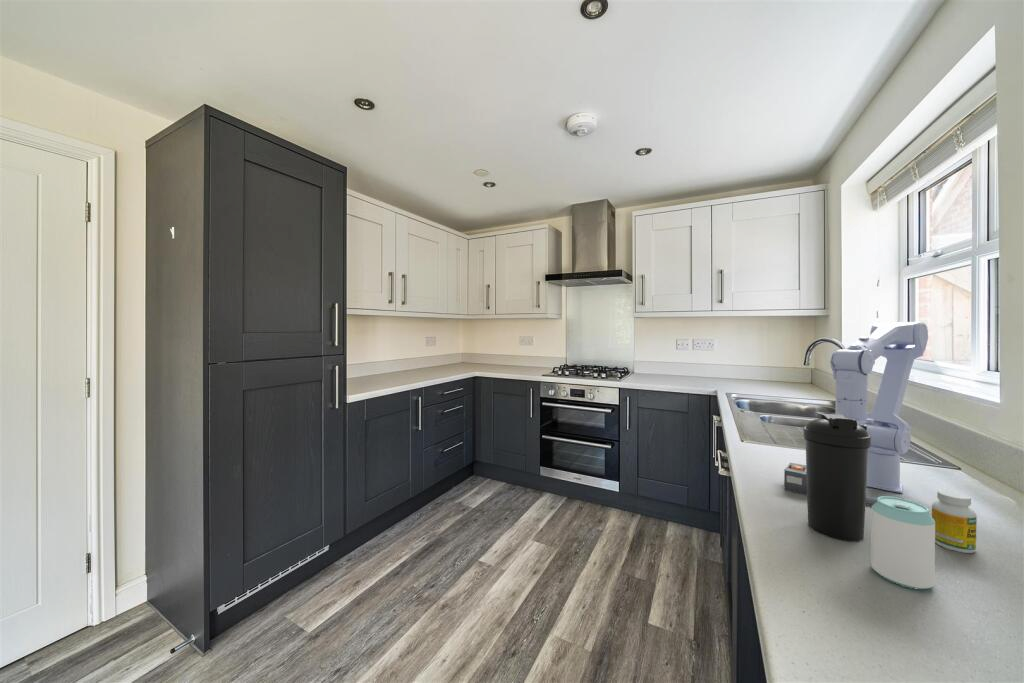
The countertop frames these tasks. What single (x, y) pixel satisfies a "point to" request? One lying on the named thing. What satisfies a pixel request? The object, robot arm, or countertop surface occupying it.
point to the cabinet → (795, 479)
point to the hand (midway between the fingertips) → (850, 455)
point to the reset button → (797, 467)
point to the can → (903, 542)
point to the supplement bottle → (954, 522)
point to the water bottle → (836, 476)
